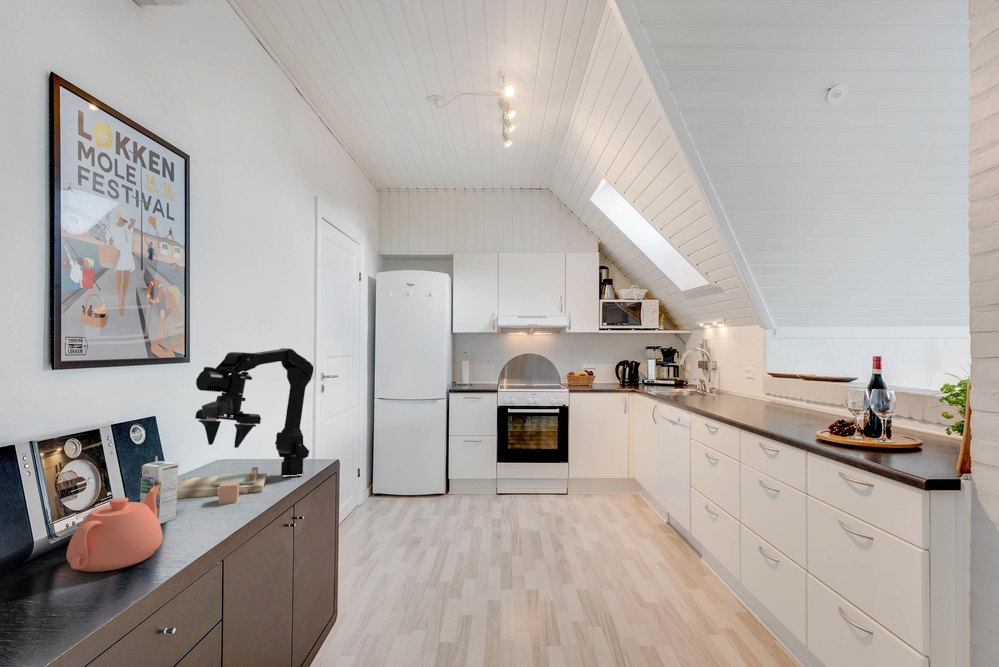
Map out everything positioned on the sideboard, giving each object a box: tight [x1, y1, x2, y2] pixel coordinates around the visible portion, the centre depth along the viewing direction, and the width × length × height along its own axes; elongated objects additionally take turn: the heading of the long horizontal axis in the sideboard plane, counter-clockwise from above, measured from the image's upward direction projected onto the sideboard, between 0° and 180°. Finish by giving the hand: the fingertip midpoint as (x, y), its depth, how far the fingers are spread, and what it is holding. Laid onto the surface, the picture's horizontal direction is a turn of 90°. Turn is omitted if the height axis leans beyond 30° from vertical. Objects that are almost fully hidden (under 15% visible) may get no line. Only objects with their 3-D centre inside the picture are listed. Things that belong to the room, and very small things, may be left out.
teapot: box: [66, 485, 163, 573], centre depth 102 cm, size 22×16×12 cm
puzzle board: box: [177, 472, 268, 499], centre depth 152 cm, size 24×15×2 cm, turn 111°
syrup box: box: [139, 460, 180, 525], centre depth 123 cm, size 6×6×14 cm
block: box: [218, 481, 240, 505], centre depth 140 cm, size 4×4×5 cm
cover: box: [213, 466, 259, 486], centre depth 153 cm, size 11×11×3 cm
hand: (223, 446), depth 144 cm, fingers open, 9 cm apart
